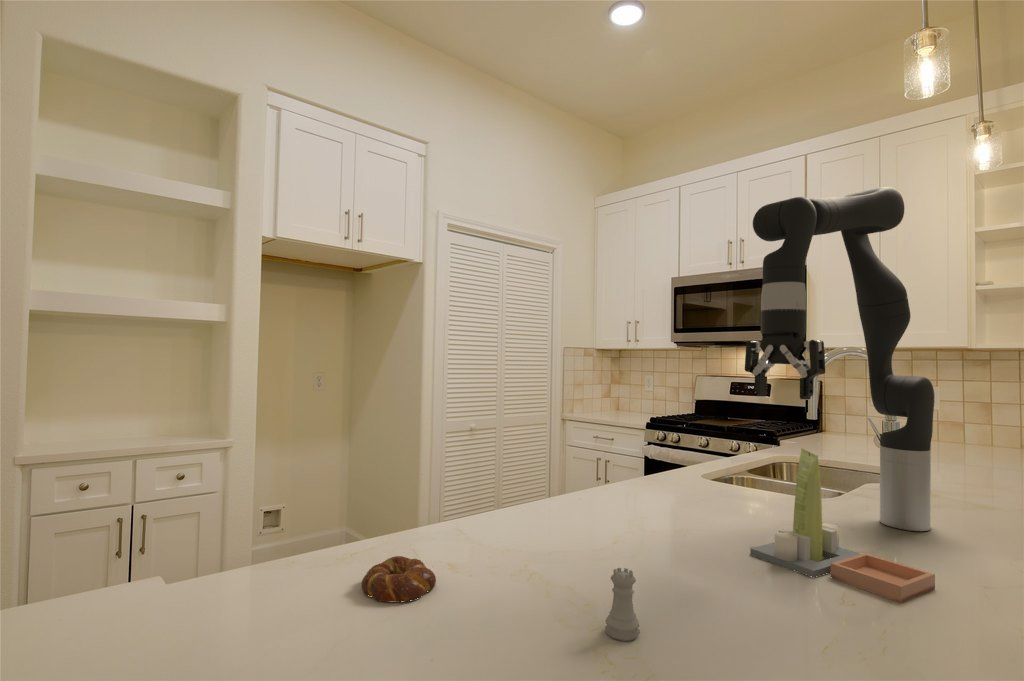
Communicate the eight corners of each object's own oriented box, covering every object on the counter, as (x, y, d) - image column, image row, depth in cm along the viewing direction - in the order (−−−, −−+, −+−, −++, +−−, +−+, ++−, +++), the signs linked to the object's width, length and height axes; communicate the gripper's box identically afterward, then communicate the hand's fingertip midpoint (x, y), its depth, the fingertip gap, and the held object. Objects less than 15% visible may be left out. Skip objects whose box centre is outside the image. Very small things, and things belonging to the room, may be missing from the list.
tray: (864, 566, 97) (864, 552, 97) (934, 589, 88) (934, 574, 88) (830, 577, 92) (830, 563, 92) (901, 603, 83) (901, 586, 83)
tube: (831, 560, 100) (832, 452, 100) (816, 566, 97) (817, 454, 97) (800, 551, 104) (801, 447, 105) (785, 556, 102) (786, 449, 102)
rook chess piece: (601, 625, 74) (602, 565, 74) (633, 625, 74) (634, 564, 74) (609, 643, 69) (611, 578, 69) (644, 642, 70) (645, 578, 70)
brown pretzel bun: (355, 579, 88) (356, 555, 88) (422, 570, 92) (423, 547, 92) (367, 612, 77) (367, 585, 77) (443, 600, 81) (443, 574, 81)
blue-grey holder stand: (802, 541, 110) (802, 516, 110) (866, 561, 100) (866, 533, 100) (749, 555, 102) (749, 527, 102) (812, 578, 91) (813, 548, 92)
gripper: (834, 307, 97) (833, 400, 96) (761, 312, 109) (760, 394, 109) (808, 304, 93) (808, 401, 93) (736, 310, 105) (735, 395, 105)
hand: (782, 397), depth 101 cm, fingers open, 8 cm apart
